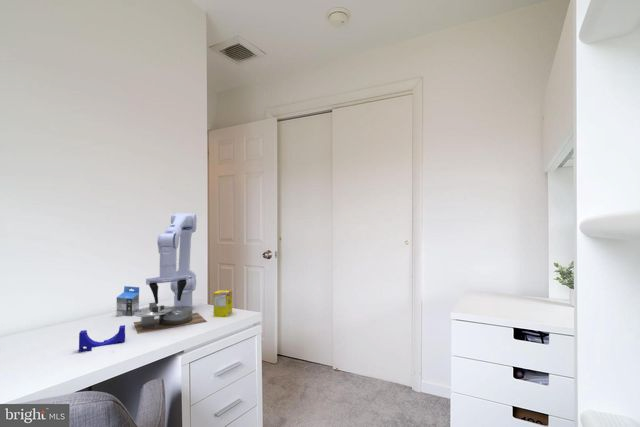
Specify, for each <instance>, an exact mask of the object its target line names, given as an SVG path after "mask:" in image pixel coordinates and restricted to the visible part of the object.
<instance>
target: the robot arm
mask: <svg viewBox="0 0 640 427" xmlns="http://www.w3.org/2000/svg"><path fill="white" fill-rule="evenodd" d="M197 221H198V220H197V214H196V213H194V212H192V213H191V212H189V213H188V212H187V213H186V212H185V213H184V212H183V213H180V212H179V213H178V212H177V213H176V212H173V213H172V214H171V215H170V224H169V225H168V226H167V228H166V229H165V230H164V232H161V233H160V234H159V235H158V236H157V241H156V242H157V243H156V244H157V248H158V254H159V276H156V277H150V278H145V285H148V286H149V288H150V290H151V293H152V295H153V298H154V303H155V304H157V305H158V304H159V285H158V284H165V283H170V290H171V291H172V292H173V294H174V296H173V306H190V307H192V308H193V292H194V291H195V290H196V289H197V288H196V287H197V274H196V273H195V272H194V271H192V269H191V266H190V264H191V247H192V243H191V242H192V235H193V233H195V232H196V230H197ZM177 248H179V252H177V250H178V249H177ZM177 253H179V255H178V257H177ZM177 258H178V259H177ZM177 260H178V269H177Z"/></svg>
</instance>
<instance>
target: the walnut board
mask: <svg viewBox="0 0 640 427" xmlns="http://www.w3.org/2000/svg"><path fill="white" fill-rule="evenodd" d="M204 323H208V320H206V319H205V318H204V317H203V316H202V315H200V313H199V312H192V321H191V322H189V323H186V324H182V325H176V326H163V325H160V324H159V318H154V327H148V328H142V327H141V320H139V321H134V322H133V324H134V328H135V330H136V333H137V335H140V334H144V333H149V332H156V331H162V330H163V331H164V330H167V329H175V328H180V327H186V326H191V325H196V324H198V325H199V324H204Z"/></svg>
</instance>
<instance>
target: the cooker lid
mask: <svg viewBox="0 0 640 427" xmlns="http://www.w3.org/2000/svg"><path fill="white" fill-rule="evenodd" d="M148 304H149V305H148V306H147V307H143V308H140V309H139V310H137V311H135V315H134V316H135V317H139V318H141V317H153V316H154V317H159V316H160V315H164V314H167V313H170V312H171V311H172V308H171V307H172V306H168V305H167V306H166V305H158V304H155V302H149V303H148Z"/></svg>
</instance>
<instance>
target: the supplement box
mask: <svg viewBox="0 0 640 427" xmlns="http://www.w3.org/2000/svg"><path fill="white" fill-rule="evenodd" d="M232 314H233V290H232V289H219V290H217V291H215V292H213V317H214V318H228V317H229V316H231V315H232Z"/></svg>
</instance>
